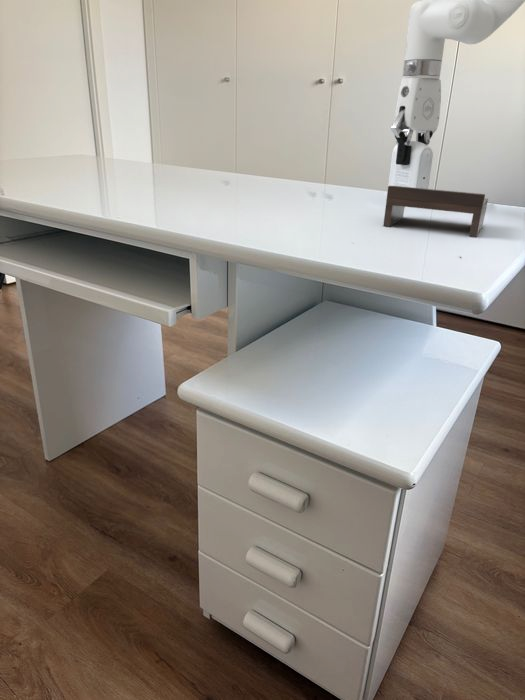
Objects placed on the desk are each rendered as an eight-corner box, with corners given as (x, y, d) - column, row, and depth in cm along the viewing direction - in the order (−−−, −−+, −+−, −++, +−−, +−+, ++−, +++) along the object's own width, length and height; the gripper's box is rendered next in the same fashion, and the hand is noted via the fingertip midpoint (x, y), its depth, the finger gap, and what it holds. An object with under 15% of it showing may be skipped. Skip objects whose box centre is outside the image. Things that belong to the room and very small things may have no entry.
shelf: (397, 216, 106) (402, 179, 103) (482, 226, 100) (490, 187, 97) (383, 226, 97) (388, 186, 94) (476, 237, 91) (484, 194, 88)
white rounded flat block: (429, 202, 118) (437, 142, 113) (414, 203, 116) (422, 142, 111) (398, 196, 126) (405, 139, 121) (384, 196, 125) (390, 140, 120)
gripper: (411, 68, 103) (400, 167, 111) (460, 73, 113) (447, 163, 121) (380, 70, 109) (372, 164, 116) (430, 74, 118) (419, 161, 126)
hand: (410, 163), depth 118 cm, fingers closed on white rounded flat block, 5 cm apart
